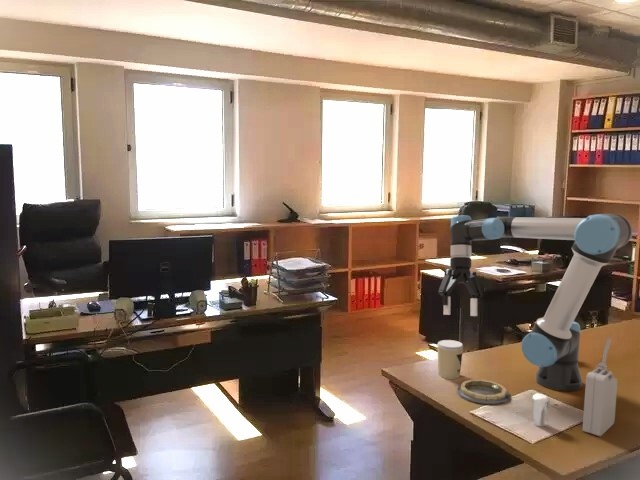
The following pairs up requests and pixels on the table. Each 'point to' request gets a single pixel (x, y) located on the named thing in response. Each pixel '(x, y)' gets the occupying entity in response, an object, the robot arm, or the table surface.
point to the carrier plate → (483, 392)
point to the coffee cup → (449, 358)
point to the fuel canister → (600, 398)
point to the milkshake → (539, 409)
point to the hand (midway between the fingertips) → (460, 315)
